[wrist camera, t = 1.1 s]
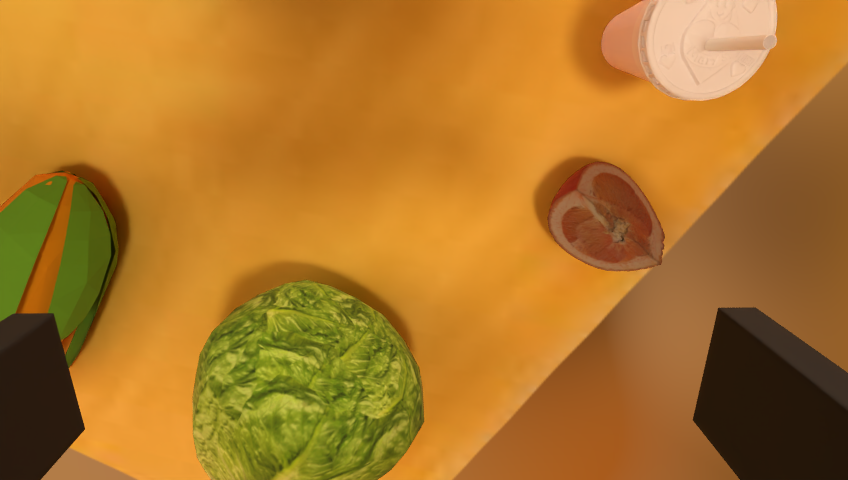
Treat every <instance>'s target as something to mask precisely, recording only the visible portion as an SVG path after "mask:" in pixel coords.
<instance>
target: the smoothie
mask: <svg viewBox="0 0 848 480" xmlns="http://www.w3.org/2000/svg"><path fill="white" fill-rule="evenodd" d="M776 27H777V6H776V1H775V0H642V1H641V2H639V3H637V4H635V5H634V6H632V7H630V8H629V9H627V10H625V11H623V12H622V13H620V14H618V15H617V16H615V17H614V18H613V19H612V20H611V21H610V22H609V23H608V25H607V26H606V28H605V30H604V32H603V36H602V41H601V48H602V53H603V56H604V58H605V59H606V61H607V62H608V63H609V64H610V65H611V66H613V67H614V68H616V69H619V70H621V71H624V72H627V73H629V74H632V75H634V76H637V77H639V78H642V79H644V80H647V81H649V82H651V83H652V84H653V85H654V86H655V87H656V88H657V89H658V90H660V91H662V92H663V93H665V94H666V95H668V96H670V97H674V98H677V99H681V100H698V101H699V100H710V99H715V98H718V97H721V96H724V95H726V94H728V93H730V92H732V91H734V90H736V89H737V88H739V87H740V86H741V85H743V84H744V83H745V82H746V81H748V80H749V79H750V78H751V77H752V76H753V75H754V74H755V72H756V71H757V70H758V69H759V67H760V66H761V65H762V63H763V62H764V60H765V58H766V57H767V55H768V53H769V51H770V49H772V48H773V47H774V46H775V45H776V43H777V38H776V36H775V32H776Z"/></svg>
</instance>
